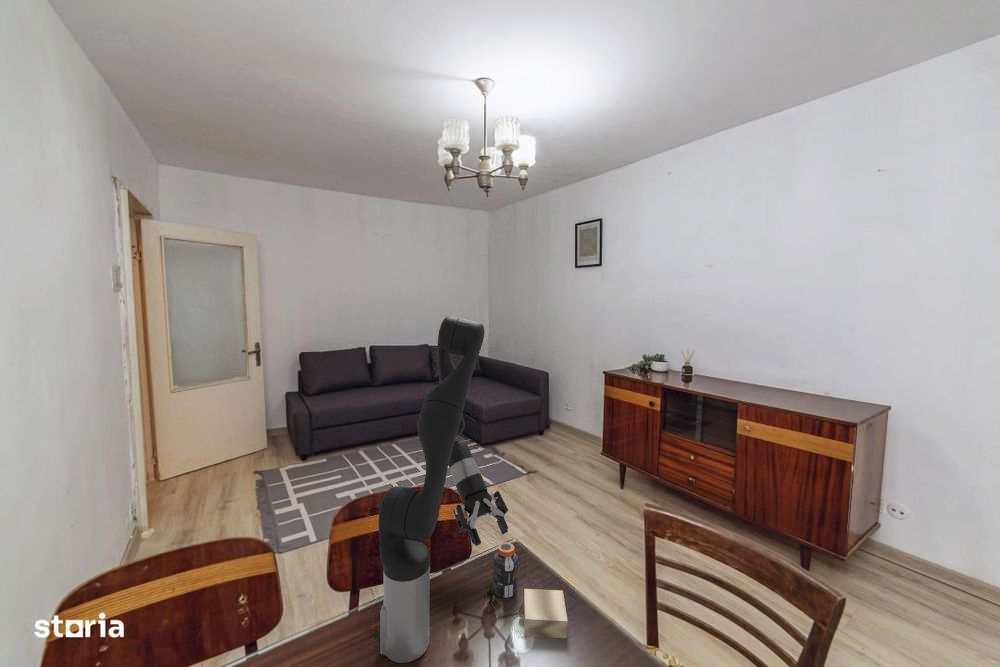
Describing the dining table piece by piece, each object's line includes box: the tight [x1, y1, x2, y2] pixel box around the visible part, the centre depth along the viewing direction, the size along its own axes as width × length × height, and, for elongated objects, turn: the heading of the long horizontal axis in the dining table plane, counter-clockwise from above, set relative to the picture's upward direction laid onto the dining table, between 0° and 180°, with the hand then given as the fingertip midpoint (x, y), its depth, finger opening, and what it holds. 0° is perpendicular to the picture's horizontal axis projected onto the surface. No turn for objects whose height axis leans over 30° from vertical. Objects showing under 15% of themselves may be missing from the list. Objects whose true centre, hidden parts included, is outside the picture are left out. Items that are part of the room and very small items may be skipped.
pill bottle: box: [492, 542, 519, 599], centre depth 102 cm, size 6×6×11 cm
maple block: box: [523, 588, 569, 639], centre depth 93 cm, size 9×9×4 cm
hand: (492, 538), depth 105 cm, fingers open, 8 cm apart
